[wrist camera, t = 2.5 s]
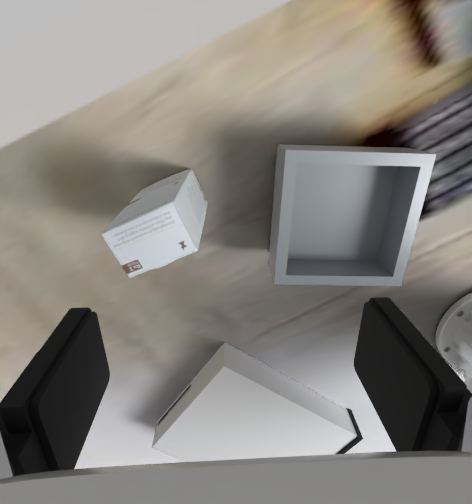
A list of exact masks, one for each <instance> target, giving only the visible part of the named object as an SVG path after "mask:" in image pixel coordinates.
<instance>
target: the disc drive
mask: <svg viewBox="0 0 472 504" xmlns="http://www.w3.org/2000/svg"><path fill="white" fill-rule="evenodd" d="M362 439H363V438H362V435H361V433H360V430H359V428H358V425H357V423H356V421H355V418H354V416H353V413H352V411H351V410H350V409H346V408H344V407H342V406H340V405H338V404H337V403H335V402H333V401H331V400H329V399H327V398H326V397H324V396H322V395H320V394H318V393H317V392H315V391H313V390H311V389H309V388H307V387H306V386H304V385H302V384H300V383H298V382H296V381H295V380H293V379H291V378H289V377H287V376H285V375H284V374H282V373H280V372H278V371H276V370H275V369H273V368H271V367H269V366H267V365H265V364H264V363H262V362H260V361H258V360H256V359H254V358H253V357H251V356H249V355H247V354H245V353H243V352H242V351H240V350H238V349H236V348H234V347H232V346H231V345H229V344H227V343H225V342H224V343H223V345H222V346H221V347H220V348H219V349H218V350H217V352H216V353H215V354H214V355H213V356H212V357H211V359H210V360H209V361H208V362H207V363H206V364H205V366H204V367H203V368H202V369H201V370H200V371H199V373H198V374H197V375H196V376H195V377H194V379H193V380H192V381H191V382H190V383H189V384H188V386H187V387H186V388H185V389H184V390H183V391H182V393H181V394H180V395H179V396H178V397H177V398H176V400H175V401H174V402H173V403H172V404H171V406H170V407H169V408H168V409H167V410H166V411H165V413H164V414H163V415H162V416H161V417H160V418H159V420H158V422H157V426H156V431H155V435H154V440H153V444H152V448H153V449H156V450H158V451H160V452H163V453H165V454H168V455H170V456H172V457H175V458H177V459H180V460H182V461H184V462H197V461H215V460H234V459H252V458H271V457H290V456H310V455H331V454H345V453H346V452H347V451H348V450H350V449H351V448H352V447H353V446H354V445H356V444H357V443H358V442H359V441H361V440H362Z"/></svg>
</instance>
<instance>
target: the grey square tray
mask: <svg viewBox="0 0 472 504" xmlns="http://www.w3.org/2000/svg"><path fill="white" fill-rule="evenodd" d="M435 158H436V154H434V153H429V152H424V151H420V150H415V149H410V148H392V147H357V146H321V145H286V144H278V146H277V152H274V166H276V172H275V185H274V198H273V211H272V224H271V237H269V238H268V247H267V250H268V252H269V263H268V264H269V267H270V271H271V275H272V279H273V282H274V285H335V286H401V285H402V281H403V277H404V274H405V270H406V266H407V262H408V259H409V255H410V251H411V247H412V244H413V240H414V236H415V232H416V229H417V225H418V221H419V217H420V214H421V210H422V206H423V203H424V199H425V195H426V191H427V188H428V184H429V180H430V176H431V173H432V169H433V165H434V161H435Z"/></svg>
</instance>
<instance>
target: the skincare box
mask: <svg viewBox="0 0 472 504" xmlns="http://www.w3.org/2000/svg"><path fill="white" fill-rule="evenodd" d="M207 206H208V202H207V200H206V198H205V196H204V193H203V191H202V189H201V187H200V185H199V183H198V181H197V178H196V176H195V174H194V172H193V170H192V169H188V170H185V171H182V172H180V173H177V174H174V175H172V176H169V177H167V178H165V179H163V180H160V181H158V182H156V183H154V184H152V185H150V186H148V187H146V188H144V189H142V190H141V191H140V192H139V193H138V194H137V195H136V196H135V197H134V198H133V199H132V200H131V201H130V202H129V204H128V205H127V206H126V207H125V208H124V209H123V210H122V211H121V212H120V213H119V214H118V215H117V216H116V217H115V219H114V220H113V221H112V222H111V223H110V224H109V225H108V226H107V227H106V229H105V230H104V231H103V232H102V233H101V236H102V237H103V239H104V240H105V242H106V243H107V245H108V246H109V248H110V249H111V251H112V253H113V254H114V256H115V257H116V259H117V260H118V262H119V263H120V265H121V266H122V268H123V270H124V271H125V273H126V274H127V276H128V277H129V278H132V277H134V276H136V275H139V274H142V273H144V272H147V271H149V270H151V269H156V268H160V267H163V266H165V265H168V264H169V263H171V262H172V261H174V260H177V259H179V258H182V257H184V256H187V255H189V254H191V253H194V252H196V251H198V249H199V244H200V239H201V235H202V230H203V225H204V220H205V216H206V211H207Z"/></svg>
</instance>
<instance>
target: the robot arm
mask: <svg viewBox="0 0 472 504" xmlns="http://www.w3.org/2000/svg"><path fill="white" fill-rule="evenodd" d="M436 345H437V349H438V350H439V352H440V354H441V355H442V356H443V357H444V358H445V359H446V361H447V362H449V363H450V364H452V365H453V366H456V367H458V368H461V369H463V370H464V374H463V376H464V378H465V382H463V381H462V380H461V379H460V378H459V376H458V375H457V374H456V373H455V372H454V371H453V370H452V368H451V367H450V366H449V365H448V364H447V363H446V362H445V360H444V359H443V358H442V357H441V356H440V355H439V354H438V353H437V351H436V350H435V349H434V348H433V347H432V346H431V345H430V343H429V342H428V341H427V340H426V339H425V338H424V337H423V336H422V334H421V333H420V332H419V331H418V330H417V329H416V328H415V326H414V325H413V324H412V323H411V322H410V321H409V320H408V319H407V317H406V316H405V315H404V314H403V313H402V312H401V311H400V309H399V308H398V307H397V306H396V305H395V304H394V303H393V302H392V300H391V299H390V298H387V297H384V298H371V299H370V300H369V302H366V303H365V304H364V309H363V314H362V320H361V325H360V331H359V336H358V342H357V347H356V353H355V358H354V367H355V371H356V373H357V375H358V377H359V379H360V381H361V383H362V385H363V387H364V389H365V390H366V392H367V394H368V396H369V398H370V400H371V402H372V404H373V406H374V408H375V410H376V412H377V414H378V416H379V418H380V420H381V422H382V424H383V426H384V427H385V429H386V431H387V433H388V435H389V437H390V439H391V441H392V443H393V445H394V447H395V449H396V451H397V452H373V453H352V454H331V455H310V456H290V457H271V458H252V459H234V460H215V461H197V462H180V463H163V464H146V465H130V466H113V467H99V468H86V469H74V468H75V465H76V463H77V460H78V457H79V455H80V452H81V450H82V447H83V445H84V442H85V440H86V437H87V435H88V432H89V430H90V427H91V425H92V422H93V420H94V417H95V415H96V412H97V410H98V407H99V405H100V402H101V400H102V397H103V395H104V392H105V390H106V387H107V385H108V382H109V377H110V372H109V367H108V362H107V358H106V353H105V349H104V344H103V340H102V335H101V331H100V326H99V322H98V318H97V314H96V312H92V311H91V309H90V308H71V309H70V310H69V311H68V312H67V314H66V315H65V316H64V318H63V319H62V321H61V322H60V323H59V325H58V326H57V327H56V329H55V330H54V332H53V333H52V334H51V336H50V337H49V338H48V340H47V341H46V342H45V344H44V345H43V347H42V348H41V349H40V350H39V351H38V352H37V353H36V355H35V356H34V357H33V359H32V360H31V362H30V363H29V364H28V366H27V367H26V368H25V370H24V371H23V373H22V374H21V375H20V377H19V378H18V379H17V381H16V382H15V383H14V385H13V386H12V388H11V389H10V390H9V392H8V393H7V394H6V396H5V397H4V398H3V400H2V401H1V403H0V504H472V293H469V294H468V295H466V296H464V297H463V298H461V299H460V300H458V301H457V302H456V303H455V304H453V305H452V306H451V307H450V308H449V309H448V311H447V312H446V313H445V314H444V316H443V317H442V319H441V320H440V323H439V325H438V327H437V331H436Z"/></svg>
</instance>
